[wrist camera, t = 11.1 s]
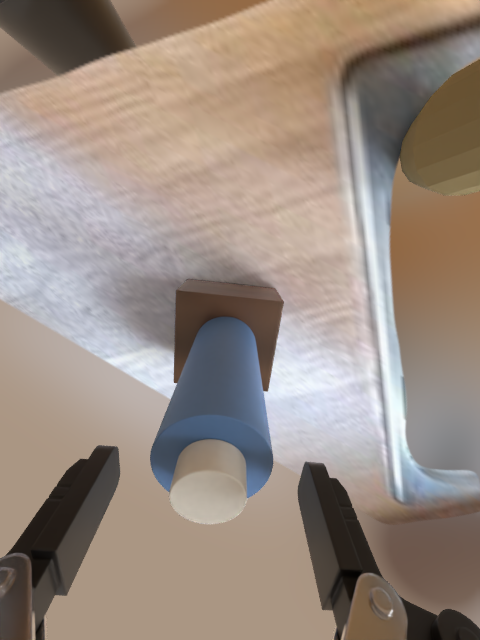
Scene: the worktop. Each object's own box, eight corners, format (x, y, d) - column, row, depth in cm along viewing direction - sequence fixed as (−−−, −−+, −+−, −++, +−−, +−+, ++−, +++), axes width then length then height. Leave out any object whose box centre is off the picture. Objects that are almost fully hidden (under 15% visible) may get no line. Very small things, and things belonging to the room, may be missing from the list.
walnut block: (187, 278, 25) (175, 290, 21) (275, 288, 26) (283, 301, 21) (184, 357, 28) (173, 383, 24) (263, 365, 29) (267, 391, 24)
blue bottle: (196, 313, 21) (133, 439, 9) (259, 319, 21) (290, 452, 9) (193, 368, 23) (138, 539, 10) (251, 374, 23) (267, 548, 11)
